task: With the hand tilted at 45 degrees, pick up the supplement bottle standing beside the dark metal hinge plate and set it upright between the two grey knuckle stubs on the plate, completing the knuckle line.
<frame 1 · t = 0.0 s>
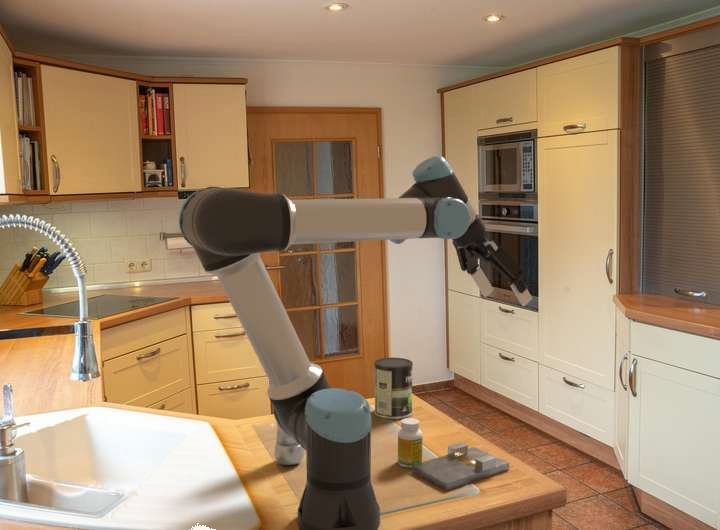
hand: (507, 297, 154), 36 cm above the countertop, tool tilted 35°, fingers open, 13 cm apart
coffee can: (393, 413, 185), on the countertop
supplement bottle: (409, 464, 151), on the countertop
hinge plate: (461, 470, 148), on the countertop
plastic bottle: (289, 463, 152), on the countertop
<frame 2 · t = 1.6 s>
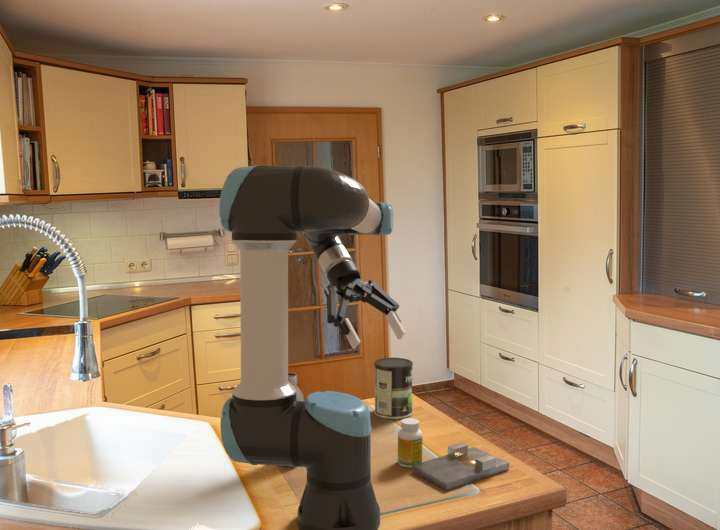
hand: (380, 340, 156), 26 cm above the countertop, tool tilted 45°, fingers open, 13 cm apart
nothing on the countertop moved.
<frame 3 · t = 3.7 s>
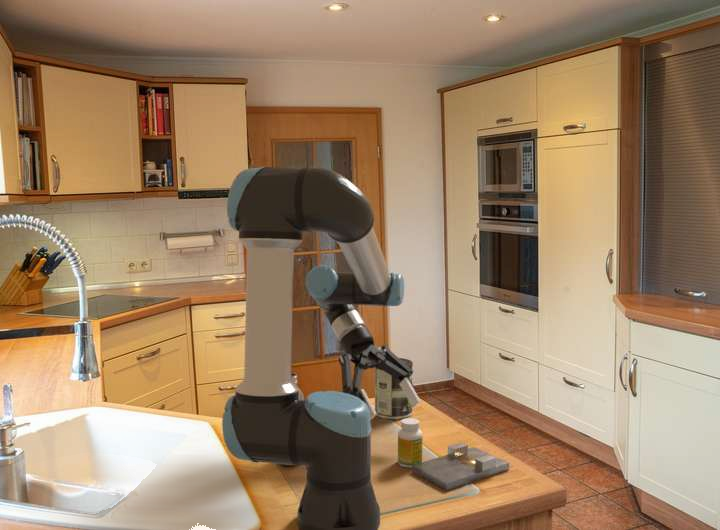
hand: (395, 410, 155), 10 cm above the countertop, tool tilted 45°, fingers open, 13 cm apart
nothing on the countertop moved.
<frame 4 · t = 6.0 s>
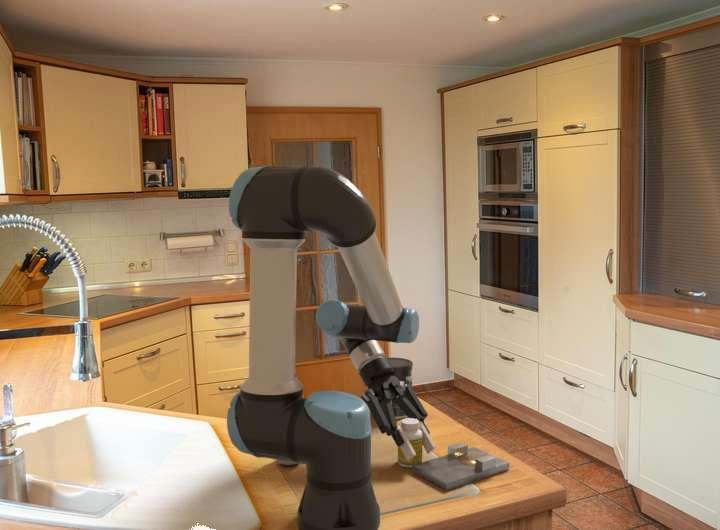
hand: (421, 453, 148), 3 cm above the countertop, tool tilted 45°, fingers closed on supplement bottle, 5 cm apart
supplement bottle: (410, 464, 151), on the countertop, touching gripper
everything else where it was.
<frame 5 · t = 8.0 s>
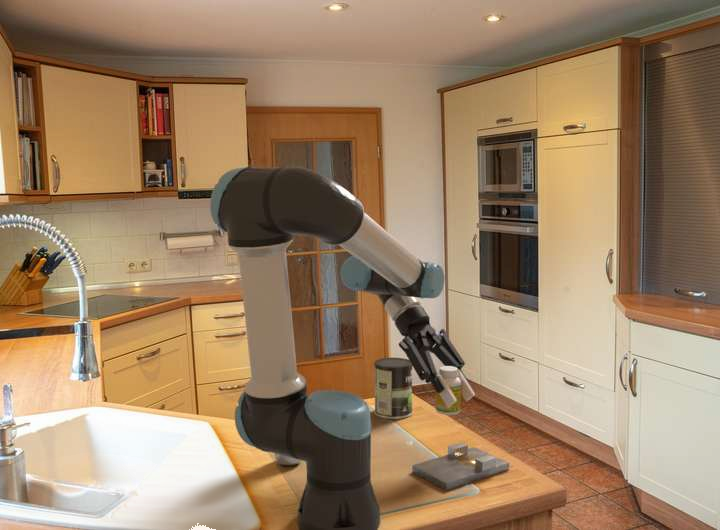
hand: (461, 400, 147), 15 cm above the countertop, tool tilted 45°, fingers closed on supplement bottle, 5 cm apart
supplement bottle: (447, 412, 150), point 12 cm above the countertop, touching gripper
everything else where it was.
when the fingers open (6 cm above the countertop, at t = 10.3 s): supplement bottle drops 1 cm, resting on hinge plate.
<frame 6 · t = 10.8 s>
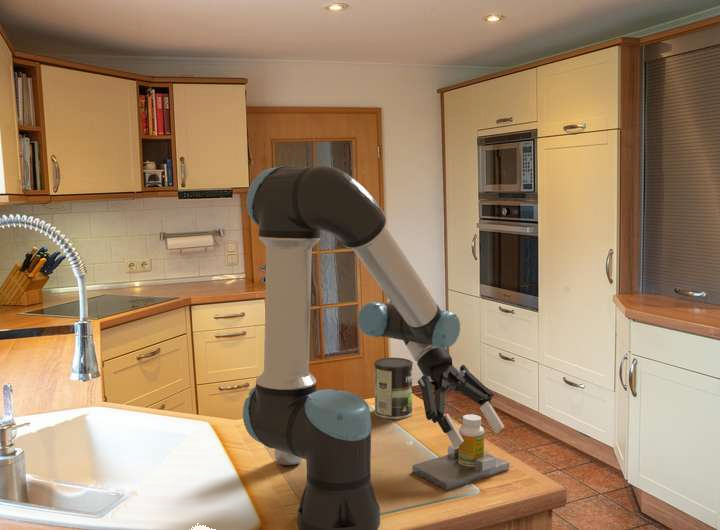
hand: (480, 437, 146), 8 cm above the countertop, tool tilted 45°, fingers open, 12 cm apart
supplement bottle: (470, 461, 149), point 1 cm above the countertop, touching hinge plate
everything else where it was.
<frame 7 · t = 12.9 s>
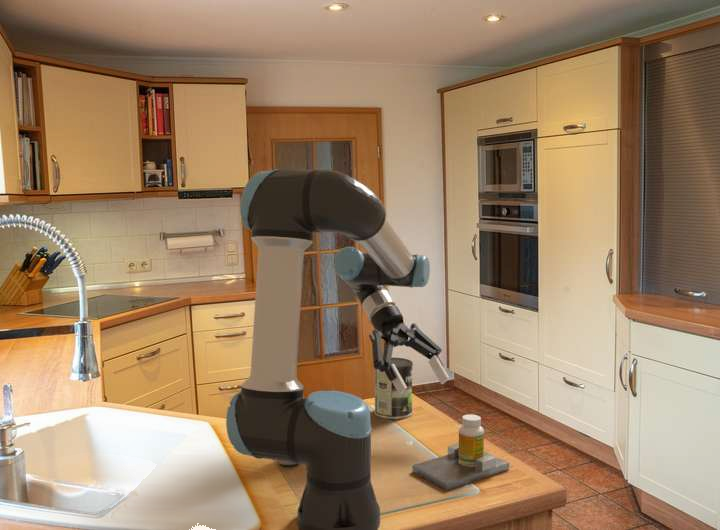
hand: (424, 386, 159), 15 cm above the countertop, tool tilted 45°, fingers open, 13 cm apart
nothing on the countertop moved.
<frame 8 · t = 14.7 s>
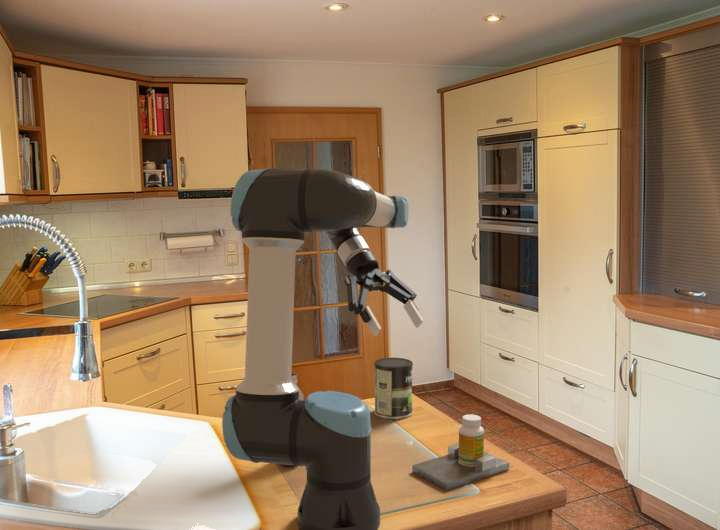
hand: (399, 328, 161), 28 cm above the countertop, tool tilted 45°, fingers open, 13 cm apart
nothing on the countertop moved.
at the end: supplement bottle 0.1 cm from the target spot on the hinge plate, point 1.3 cm above the hinge plate's base; supplement bottle tilted 0°; the gripper is holding nothing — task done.
